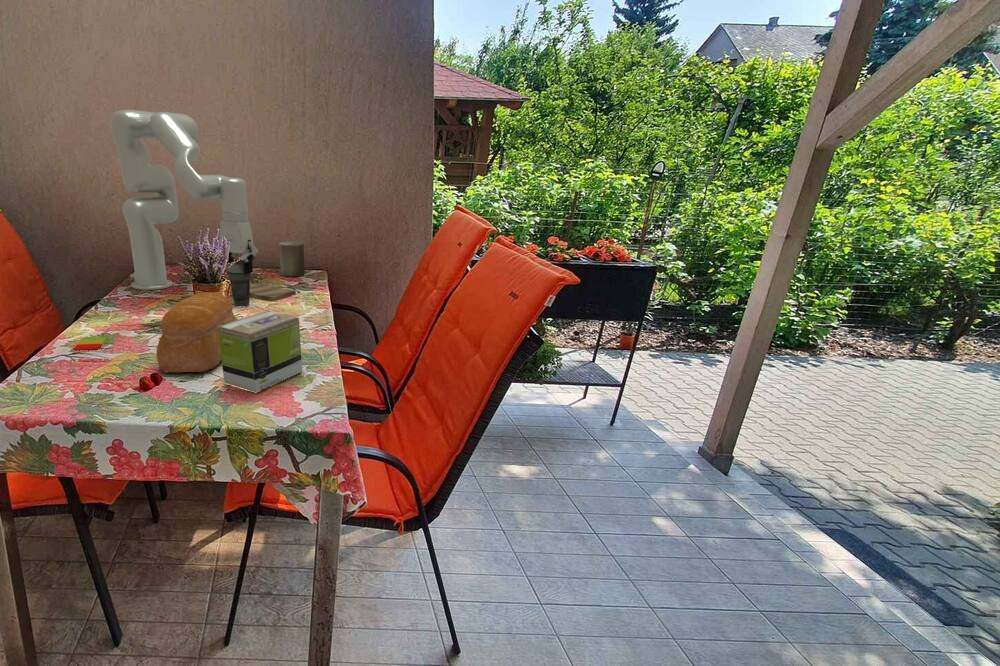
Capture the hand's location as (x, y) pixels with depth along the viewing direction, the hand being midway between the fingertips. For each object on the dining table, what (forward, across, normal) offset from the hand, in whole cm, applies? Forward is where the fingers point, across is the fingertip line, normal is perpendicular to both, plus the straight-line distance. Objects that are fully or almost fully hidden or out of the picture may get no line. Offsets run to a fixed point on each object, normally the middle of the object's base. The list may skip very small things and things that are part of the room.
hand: (239, 270), depth 177 cm
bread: (+12, +26, -40) cm, 49 cm away
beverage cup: (+12, 0, 0) cm, 12 cm away
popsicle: (+13, -3, -47) cm, 49 cm away
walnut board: (+12, -4, +15) cm, 20 cm away
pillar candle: (+12, -17, +46) cm, 50 cm away
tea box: (+12, +49, -44) cm, 67 cm away
